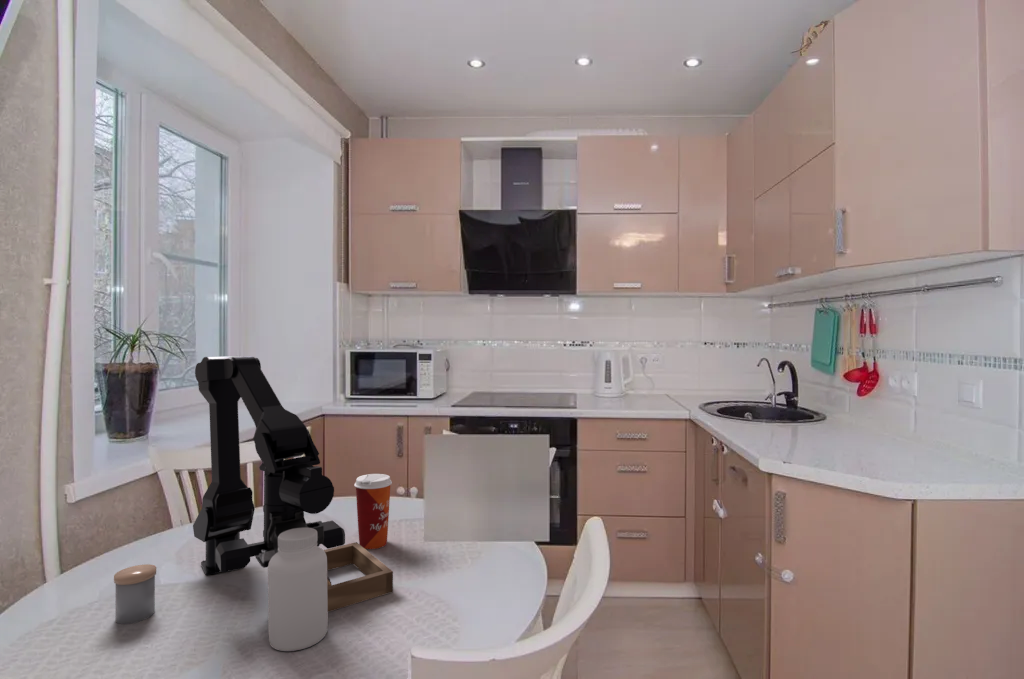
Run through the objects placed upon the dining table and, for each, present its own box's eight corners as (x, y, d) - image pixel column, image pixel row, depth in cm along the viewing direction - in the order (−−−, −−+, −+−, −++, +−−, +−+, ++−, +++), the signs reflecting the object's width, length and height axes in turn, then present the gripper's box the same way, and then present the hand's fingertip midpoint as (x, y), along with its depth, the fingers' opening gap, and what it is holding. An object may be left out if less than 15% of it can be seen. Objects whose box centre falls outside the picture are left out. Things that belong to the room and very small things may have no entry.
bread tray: (273, 581, 94) (273, 561, 94) (356, 560, 104) (356, 542, 104) (301, 620, 81) (301, 597, 81) (392, 591, 91) (392, 571, 91)
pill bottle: (279, 623, 80) (279, 524, 80) (333, 621, 81) (333, 523, 81) (258, 654, 72) (258, 544, 73) (319, 652, 73) (319, 542, 73)
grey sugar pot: (113, 613, 83) (113, 570, 83) (155, 603, 87) (155, 561, 87) (114, 628, 79) (114, 582, 79) (157, 617, 82) (157, 573, 82)
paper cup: (382, 552, 107) (382, 483, 107) (347, 549, 109) (347, 481, 109) (398, 538, 115) (398, 473, 115) (365, 536, 116) (365, 471, 116)
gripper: (227, 526, 75) (227, 638, 74) (357, 502, 86) (356, 599, 86) (215, 506, 83) (214, 606, 83) (334, 487, 95) (333, 575, 95)
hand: (282, 596), depth 87 cm, fingers closed
